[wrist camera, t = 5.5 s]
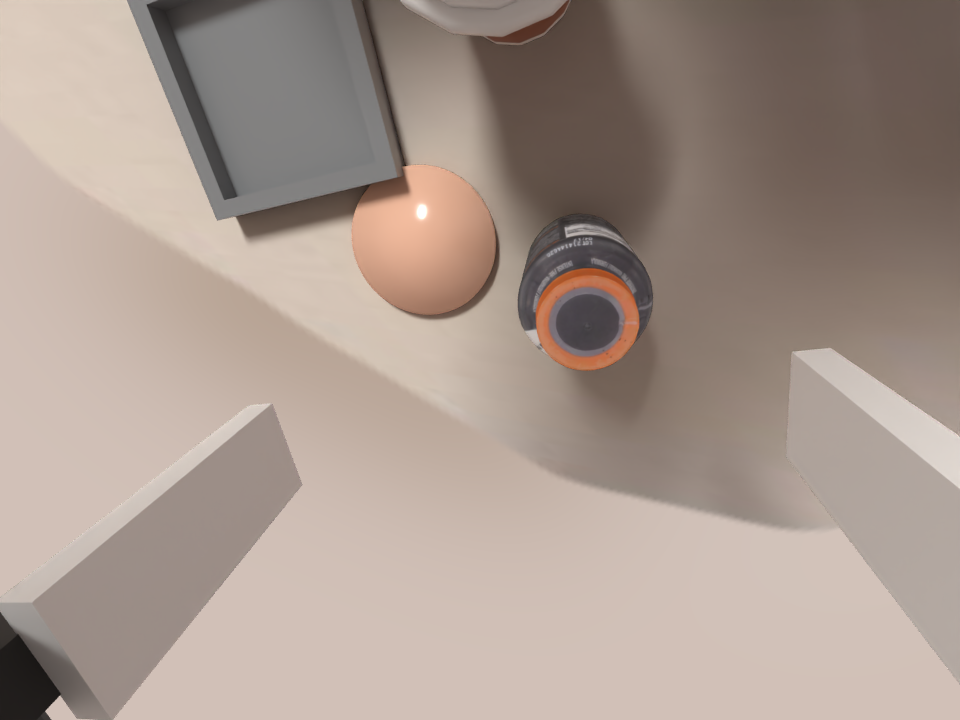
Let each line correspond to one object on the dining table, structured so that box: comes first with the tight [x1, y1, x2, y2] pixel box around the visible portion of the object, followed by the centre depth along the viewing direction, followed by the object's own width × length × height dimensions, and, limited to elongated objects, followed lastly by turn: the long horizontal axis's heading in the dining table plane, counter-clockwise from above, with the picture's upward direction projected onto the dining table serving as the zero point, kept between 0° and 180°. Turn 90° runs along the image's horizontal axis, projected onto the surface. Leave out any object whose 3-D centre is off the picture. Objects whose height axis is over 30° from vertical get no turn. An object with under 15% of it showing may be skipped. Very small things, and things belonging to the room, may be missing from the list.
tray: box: [127, 0, 405, 220], centre depth 27 cm, size 12×12×2 cm
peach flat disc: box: [352, 165, 496, 315], centre depth 29 cm, size 9×9×1 cm
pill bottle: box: [518, 214, 653, 371], centre depth 24 cm, size 6×6×11 cm
